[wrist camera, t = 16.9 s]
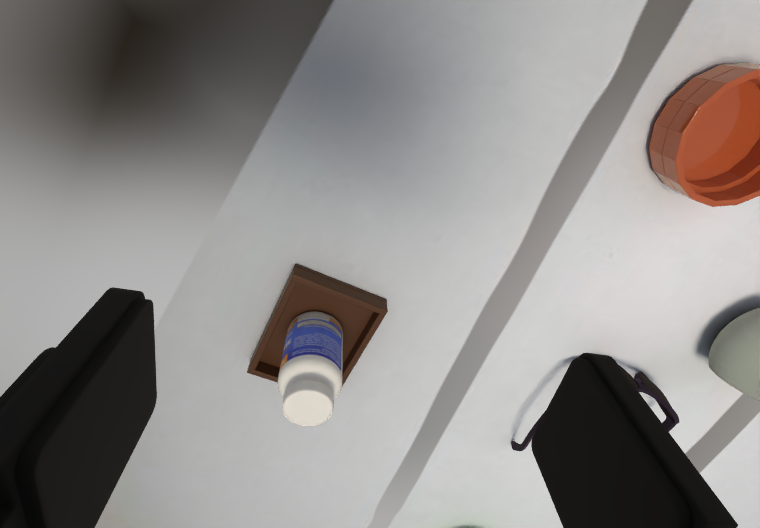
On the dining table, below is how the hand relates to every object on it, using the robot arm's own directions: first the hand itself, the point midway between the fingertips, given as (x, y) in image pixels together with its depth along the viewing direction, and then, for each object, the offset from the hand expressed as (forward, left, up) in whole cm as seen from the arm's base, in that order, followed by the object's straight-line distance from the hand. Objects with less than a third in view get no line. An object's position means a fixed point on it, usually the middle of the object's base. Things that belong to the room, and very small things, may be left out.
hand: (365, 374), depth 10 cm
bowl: (+22, +18, -28) cm, 40 cm away
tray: (+10, -18, -28) cm, 35 cm away
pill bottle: (+10, -18, -28) cm, 35 cm away
